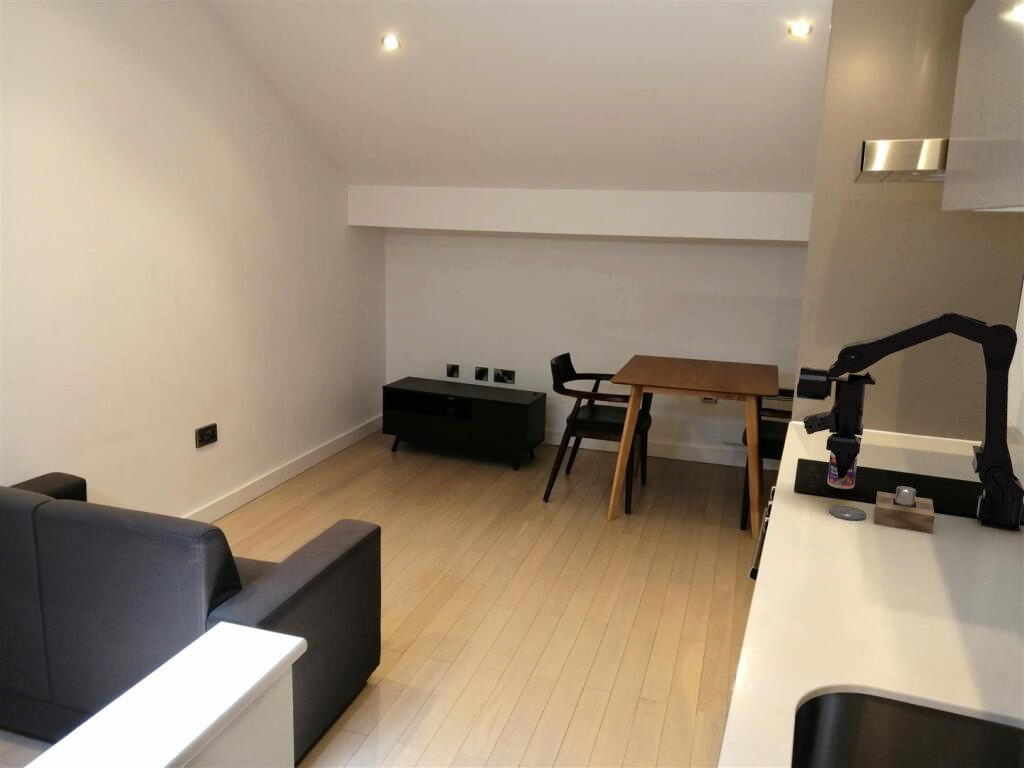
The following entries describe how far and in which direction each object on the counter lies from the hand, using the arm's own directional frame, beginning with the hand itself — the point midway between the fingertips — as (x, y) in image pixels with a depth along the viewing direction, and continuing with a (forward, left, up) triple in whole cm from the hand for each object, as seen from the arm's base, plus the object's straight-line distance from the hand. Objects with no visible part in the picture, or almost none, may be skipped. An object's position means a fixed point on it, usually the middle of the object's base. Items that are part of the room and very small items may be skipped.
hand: (841, 473), depth 157 cm
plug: (-12, +7, -5) cm, 15 cm away
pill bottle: (0, 0, -3) cm, 3 cm away
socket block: (-12, +7, -6) cm, 15 cm away
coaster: (-2, +9, -6) cm, 11 cm away
